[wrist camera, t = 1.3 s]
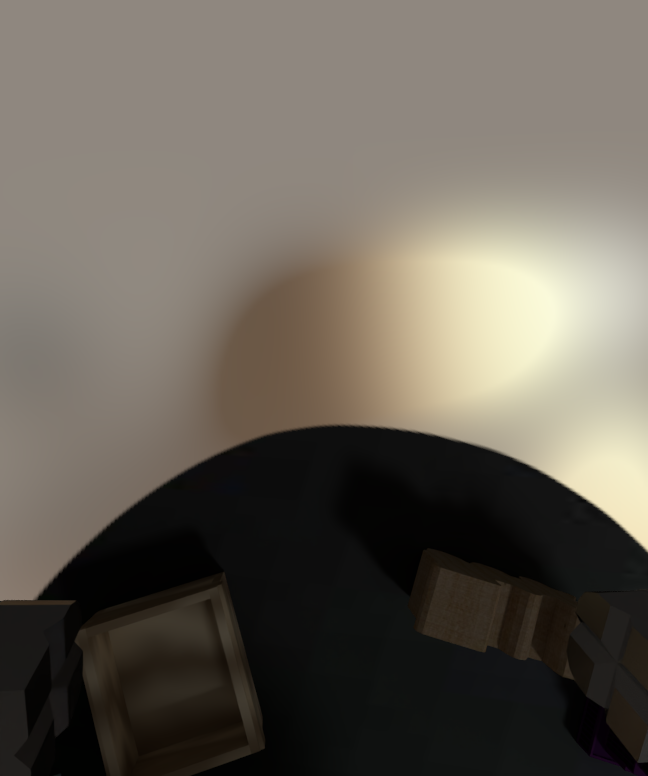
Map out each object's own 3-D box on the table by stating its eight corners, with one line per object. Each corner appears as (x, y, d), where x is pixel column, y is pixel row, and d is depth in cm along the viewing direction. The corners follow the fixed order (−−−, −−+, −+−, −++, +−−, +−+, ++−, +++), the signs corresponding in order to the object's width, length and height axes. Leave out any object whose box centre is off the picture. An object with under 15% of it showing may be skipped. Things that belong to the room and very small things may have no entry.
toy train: (544, 639, 50) (608, 690, 40) (390, 593, 49) (416, 633, 40) (557, 587, 51) (622, 623, 41) (405, 540, 50) (434, 566, 40)
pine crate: (267, 716, 47) (264, 749, 42) (130, 764, 46) (112, 804, 41) (227, 569, 48) (221, 585, 43) (93, 611, 47) (71, 632, 42)
